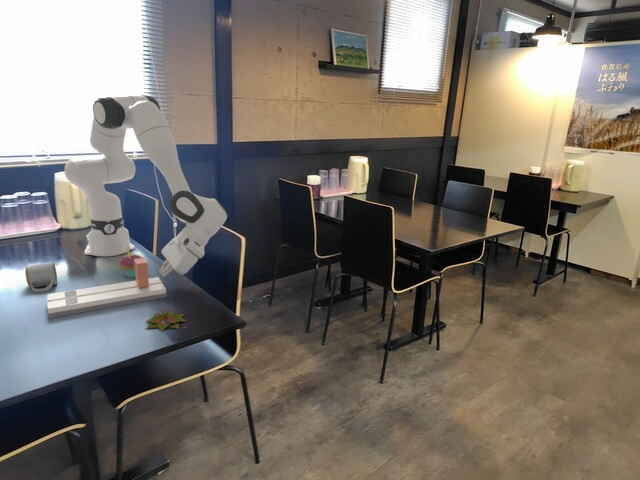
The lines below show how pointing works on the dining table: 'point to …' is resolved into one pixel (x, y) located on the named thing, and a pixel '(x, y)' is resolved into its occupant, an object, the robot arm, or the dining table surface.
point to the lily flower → (169, 316)
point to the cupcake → (129, 264)
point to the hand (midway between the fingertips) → (161, 274)
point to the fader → (141, 272)
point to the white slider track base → (103, 297)
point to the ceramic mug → (41, 276)
